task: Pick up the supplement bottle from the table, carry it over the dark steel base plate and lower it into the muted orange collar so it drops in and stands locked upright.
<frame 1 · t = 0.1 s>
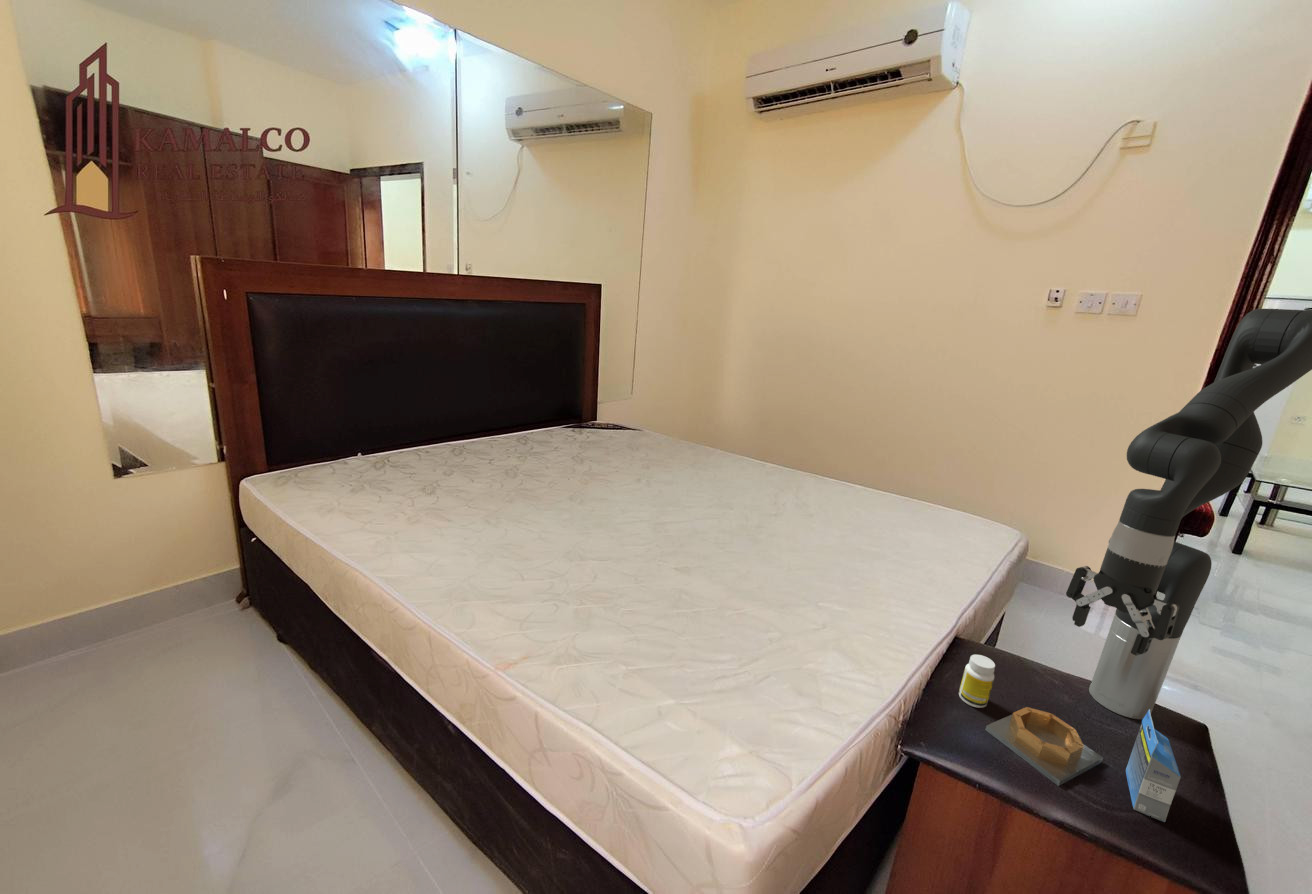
hand: (1106, 638, 94), 17 cm above the table, tool pointing down, fingers open, 8 cm apart
supplement bottle: (972, 700, 102), on the table
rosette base: (1041, 745, 92), on the table
label tape box: (1142, 796, 84), on the table
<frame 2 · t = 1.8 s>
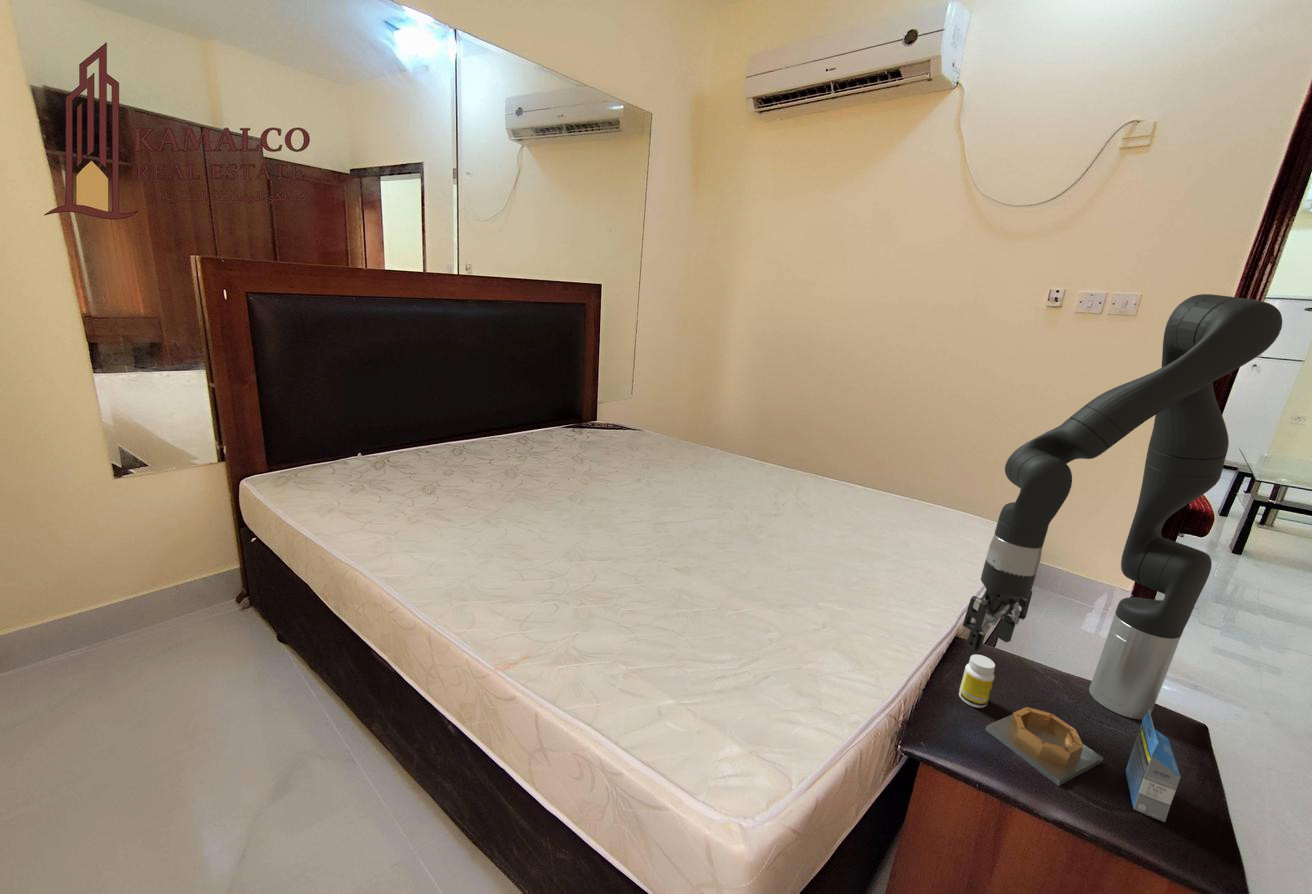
hand: (988, 644, 99), 12 cm above the table, tool pointing down, fingers open, 8 cm apart
nothing on the table moved.
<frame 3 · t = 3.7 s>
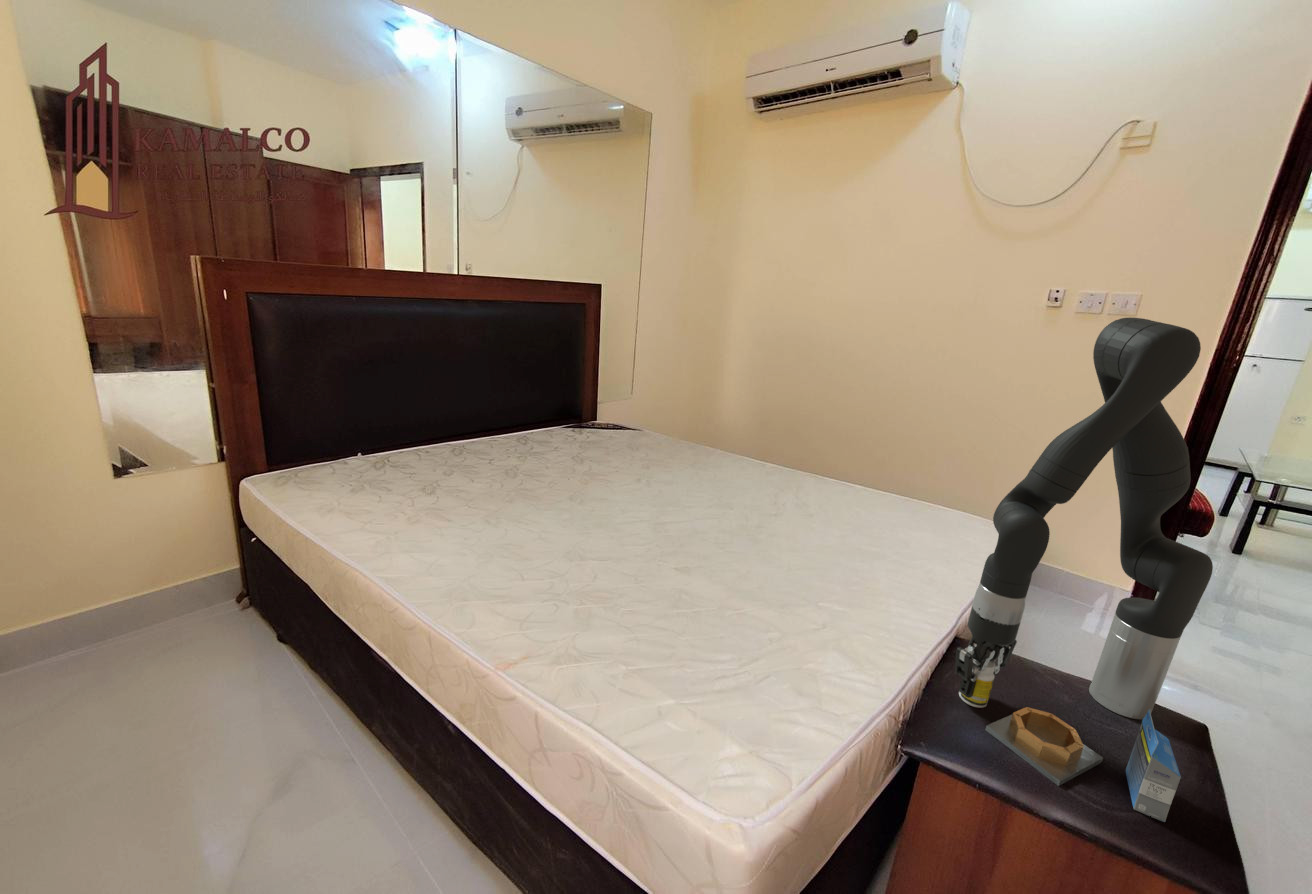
hand: (974, 690, 102), 2 cm above the table, tool pointing down, fingers closed on supplement bottle, 4 cm apart
supplement bottle: (972, 700, 102), on the table, touching gripper
everything else where it was.
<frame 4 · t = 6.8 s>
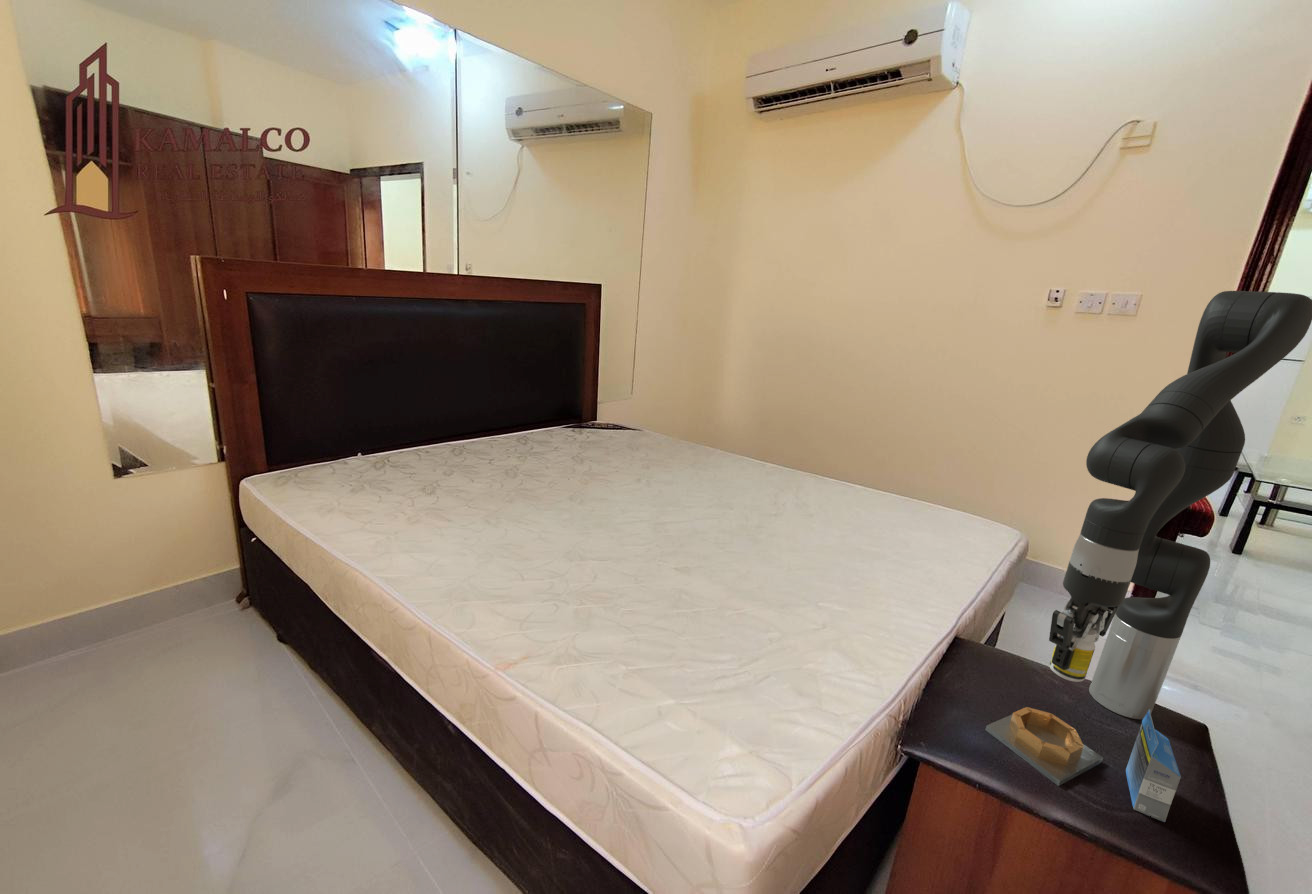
hand: (1069, 662, 88), 17 cm above the table, tool pointing down, fingers closed on supplement bottle, 4 cm apart
supplement bottle: (1066, 673, 88), point 14 cm above the table, touching gripper
everything else where it was.
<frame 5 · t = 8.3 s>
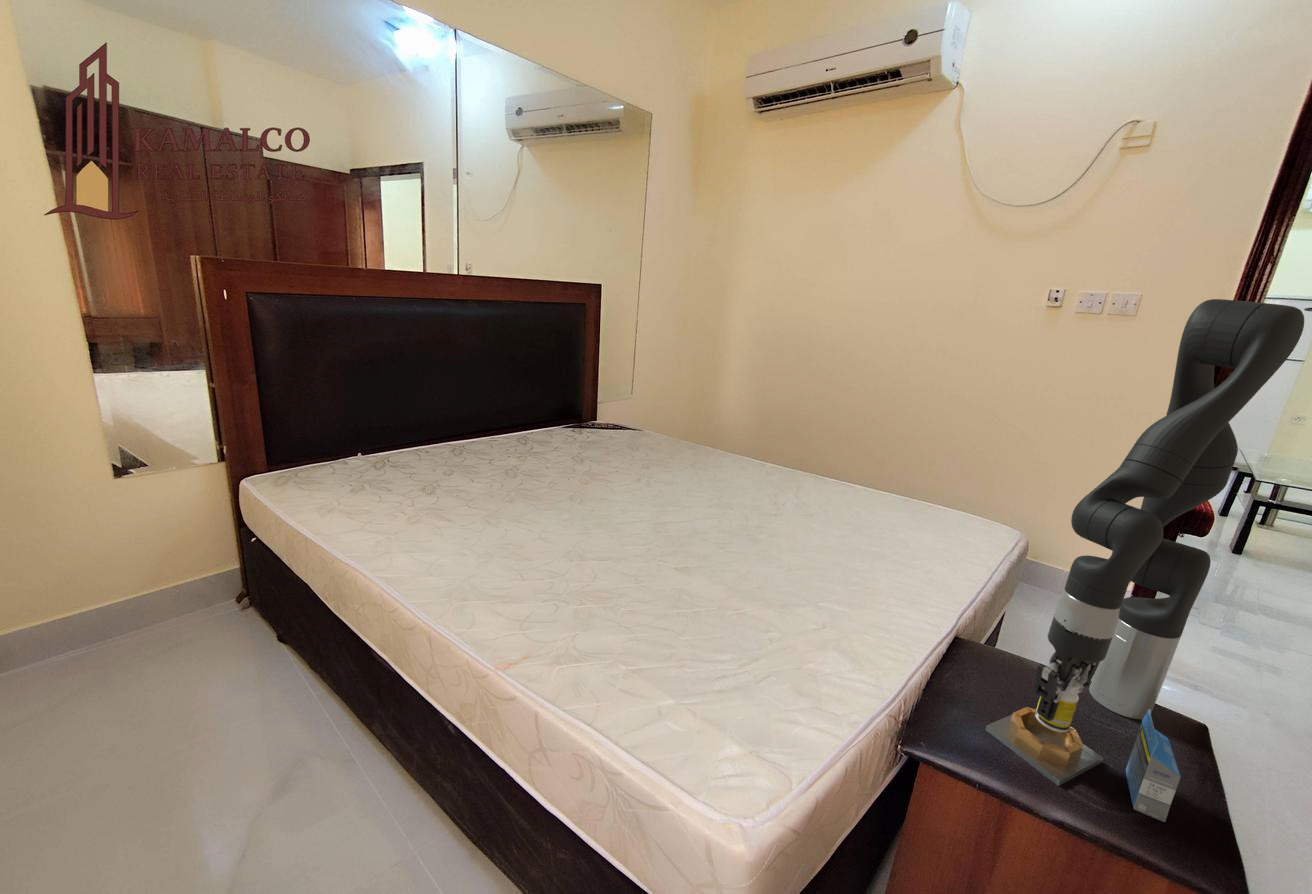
hand: (1054, 712, 90), 7 cm above the table, tool pointing down, fingers closed on supplement bottle, 4 cm apart
supplement bottle: (1051, 723, 91), point 5 cm above the table, touching gripper
everything else where it was.
when the fingers open (4 cm above the table, at t = 9.8 s): supplement bottle drops 1 cm, resting on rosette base.
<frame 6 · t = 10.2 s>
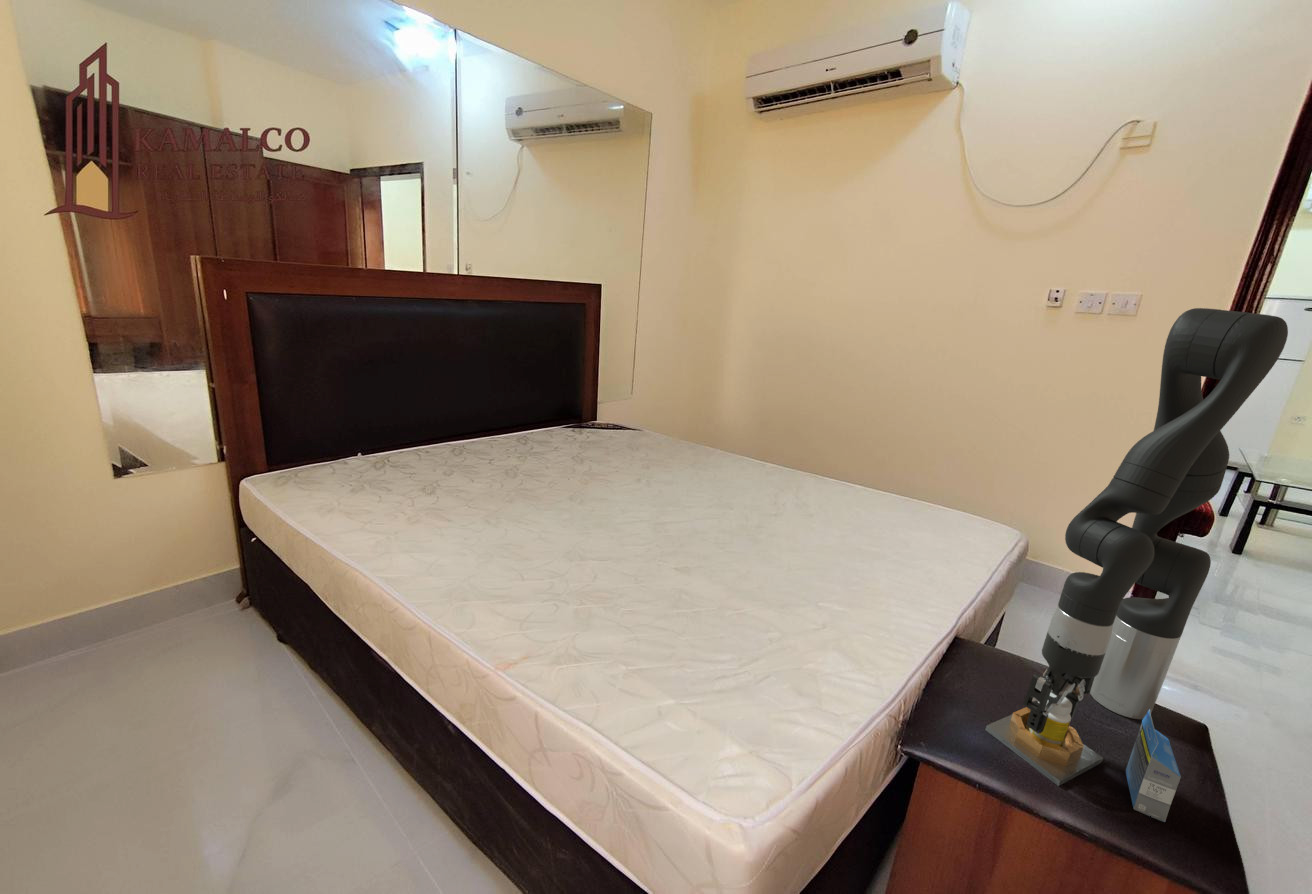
hand: (1049, 722, 91), 5 cm above the table, tool pointing down, fingers open, 8 cm apart
supplement bottle: (1043, 741, 92), point 1 cm above the table, touching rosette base
everything else where it was.
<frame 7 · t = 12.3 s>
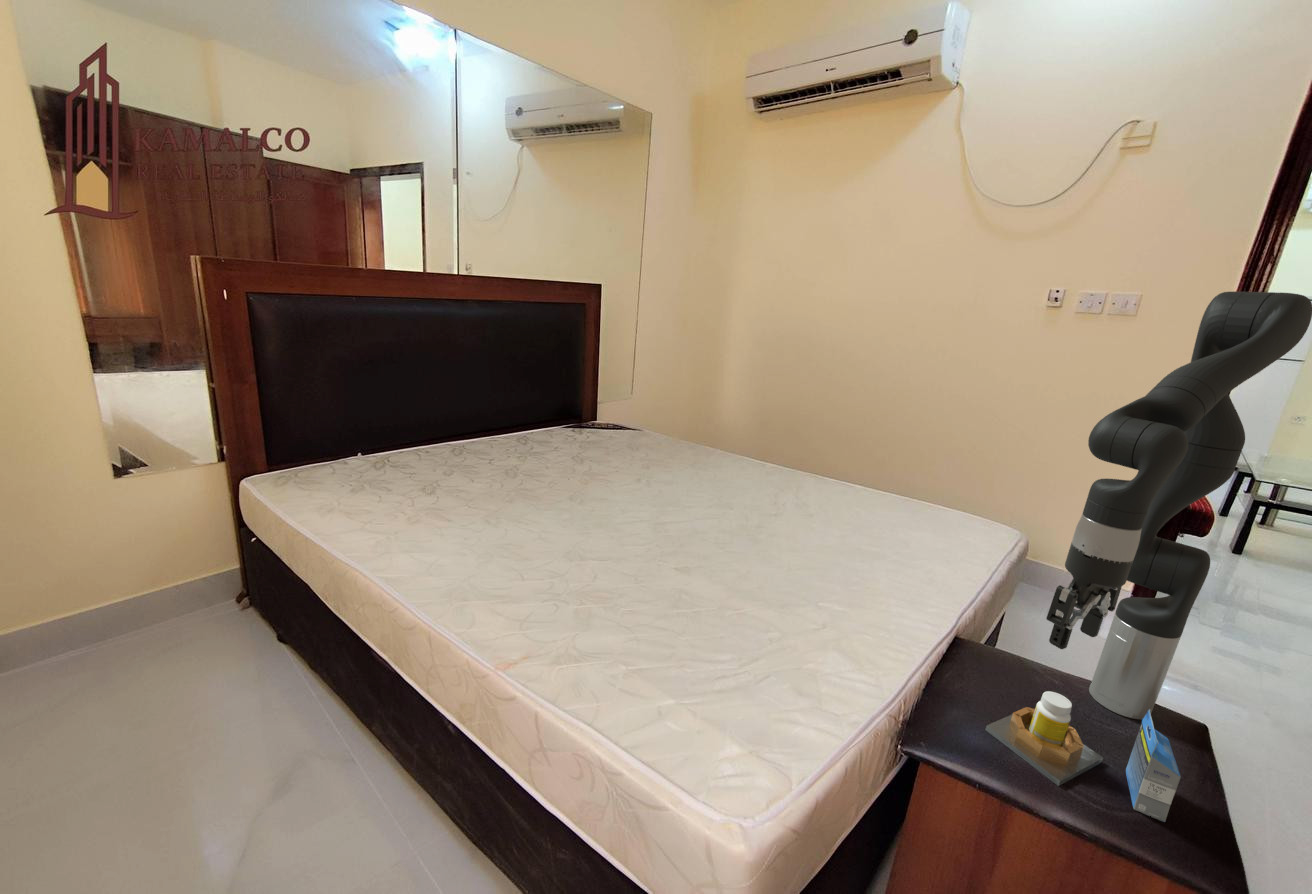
hand: (1072, 639, 87), 20 cm above the table, tool pointing down, fingers open, 8 cm apart
nothing on the table moved.
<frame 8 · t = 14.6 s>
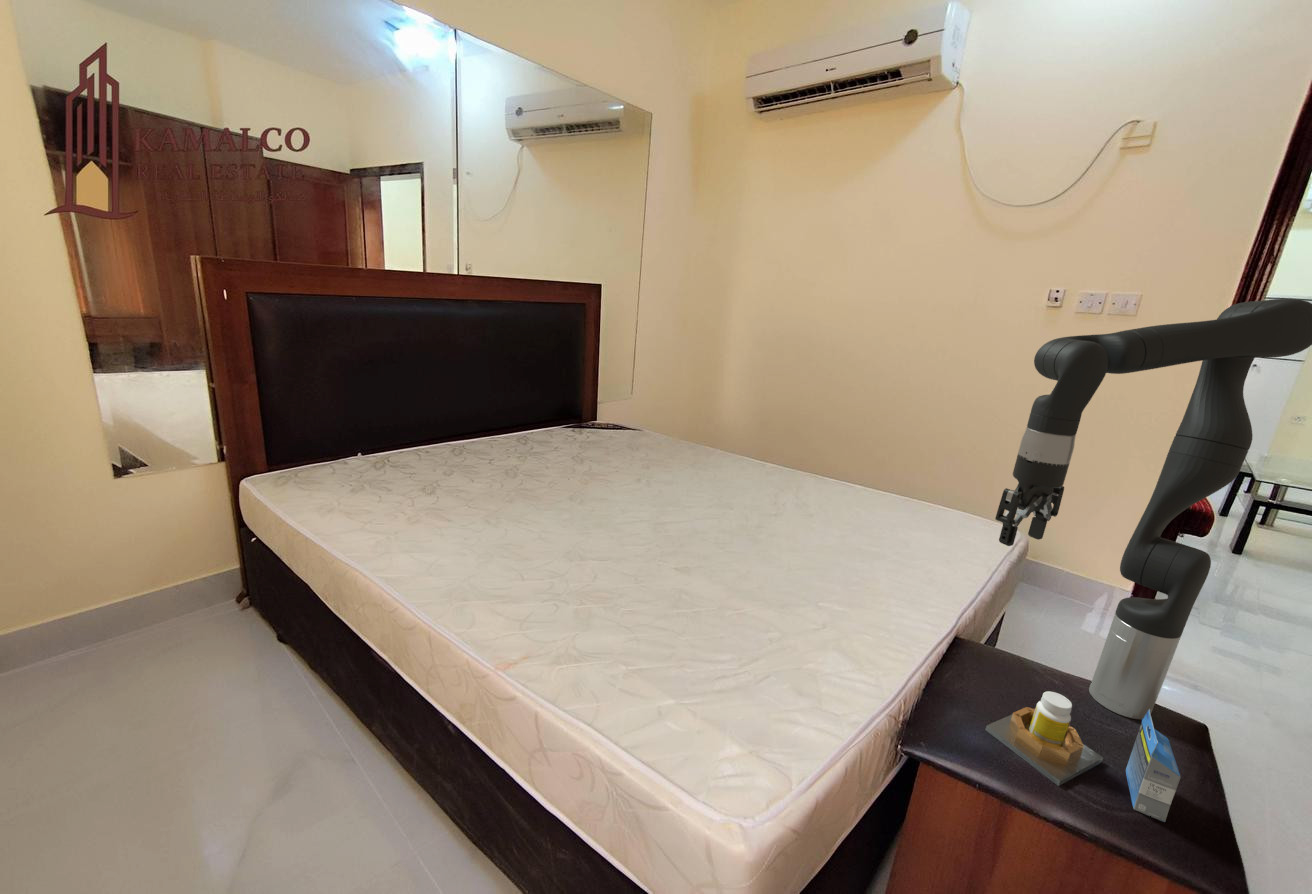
hand: (1020, 540, 99), 30 cm above the table, tool pointing down, fingers open, 8 cm apart
nothing on the table moved.
at the end: supplement bottle 0.1 cm off-centre on the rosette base, point 0.8 cm above the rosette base's base; supplement bottle tilted 0°; the gripper is holding nothing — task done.
